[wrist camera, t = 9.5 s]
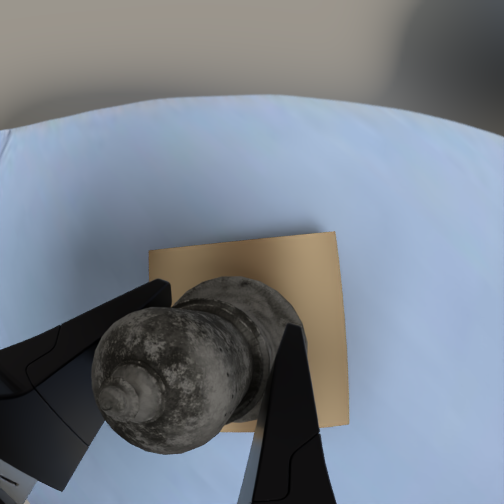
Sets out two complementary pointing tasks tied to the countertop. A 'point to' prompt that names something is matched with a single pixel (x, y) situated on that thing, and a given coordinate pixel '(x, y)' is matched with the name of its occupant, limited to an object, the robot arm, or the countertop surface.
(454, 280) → the countertop surface
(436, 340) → the countertop surface
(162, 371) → the weathered stone finial
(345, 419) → the base brick
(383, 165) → the countertop surface
